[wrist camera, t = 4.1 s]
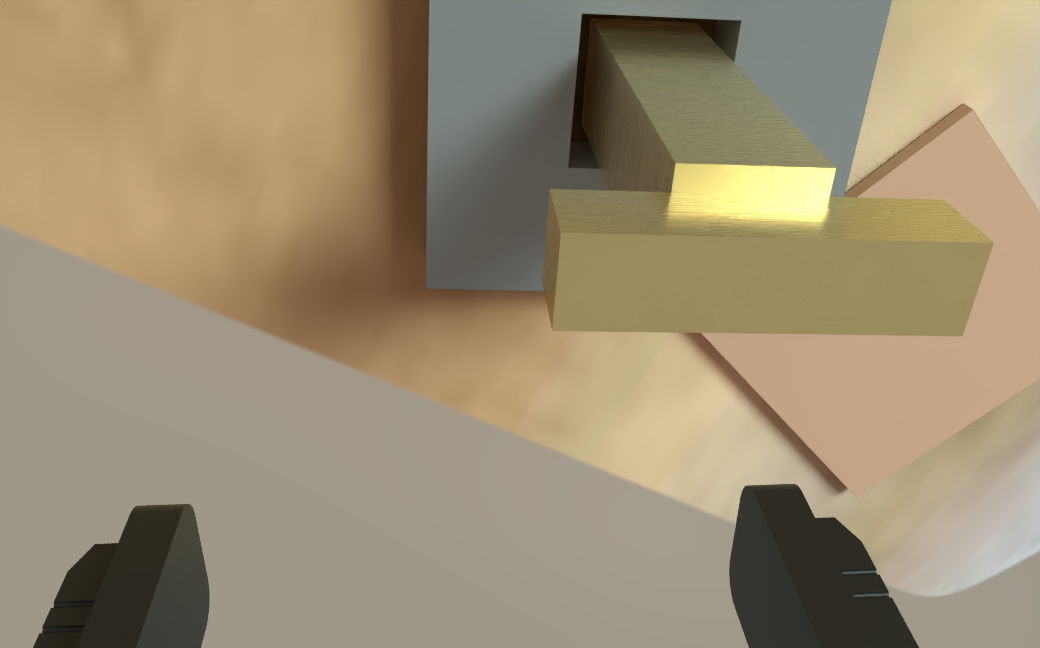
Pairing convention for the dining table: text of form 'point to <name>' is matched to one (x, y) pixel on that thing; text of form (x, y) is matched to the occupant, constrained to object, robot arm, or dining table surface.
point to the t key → (734, 212)
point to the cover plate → (550, 101)
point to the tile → (914, 359)
